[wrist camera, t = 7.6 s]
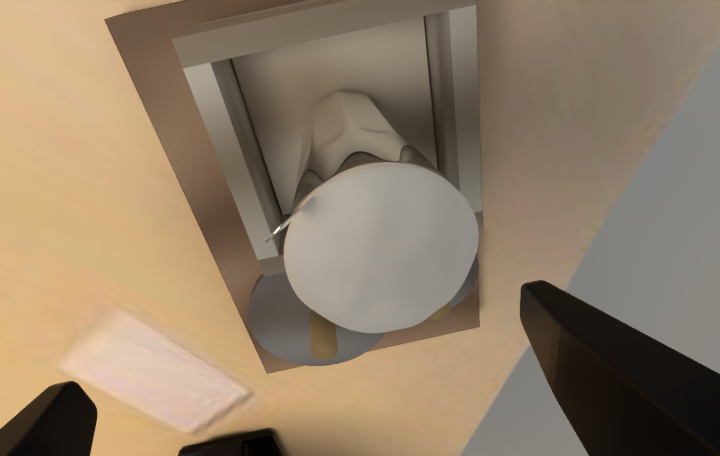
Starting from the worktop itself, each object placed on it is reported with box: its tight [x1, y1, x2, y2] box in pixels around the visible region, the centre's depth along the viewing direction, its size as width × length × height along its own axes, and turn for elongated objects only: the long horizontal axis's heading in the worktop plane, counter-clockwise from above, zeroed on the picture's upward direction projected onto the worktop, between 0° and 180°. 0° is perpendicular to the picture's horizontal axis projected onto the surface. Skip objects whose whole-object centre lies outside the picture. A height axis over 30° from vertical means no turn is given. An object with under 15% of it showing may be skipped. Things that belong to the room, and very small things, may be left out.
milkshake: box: [265, 91, 479, 333], centre depth 12 cm, size 4×5×10 cm
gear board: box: [104, 0, 483, 374], centre depth 18 cm, size 18×12×4 cm, turn 10°
